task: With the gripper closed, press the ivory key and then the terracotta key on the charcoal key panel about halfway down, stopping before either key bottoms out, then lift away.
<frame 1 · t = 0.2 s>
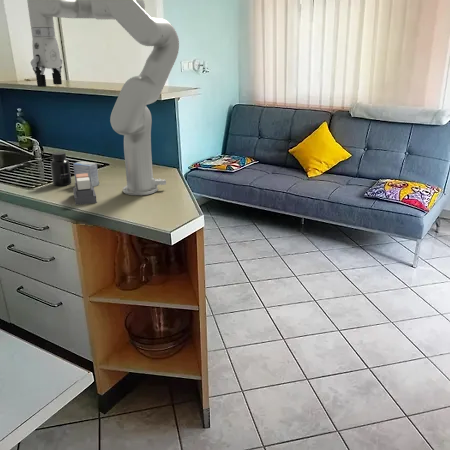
hand: (50, 85, 168), 37 cm above the countertop, tool pointing down, fingers open, 9 cm apart
medicine box: (87, 185, 181), on the countertop
key panel: (84, 198, 166), on the countertop
ivory key: (83, 183, 161), point 6 cm above the countertop, slide at 0.0 cm
terracotta key: (82, 179, 166), point 6 cm above the countertop, slide at 0.0 cm
supplement bottle: (62, 184, 183), on the countertop
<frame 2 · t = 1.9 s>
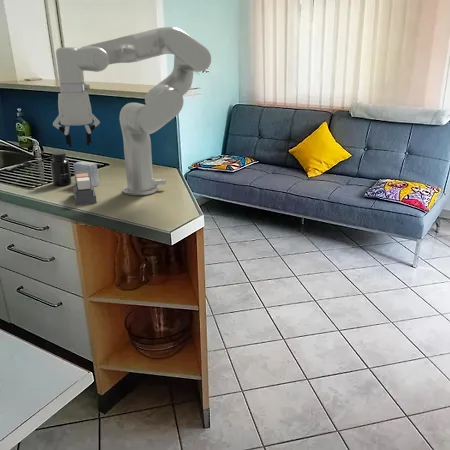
hand: (79, 145, 156), 19 cm above the countertop, tool pointing down, fingers open, 5 cm apart
nothing on the countertop moved.
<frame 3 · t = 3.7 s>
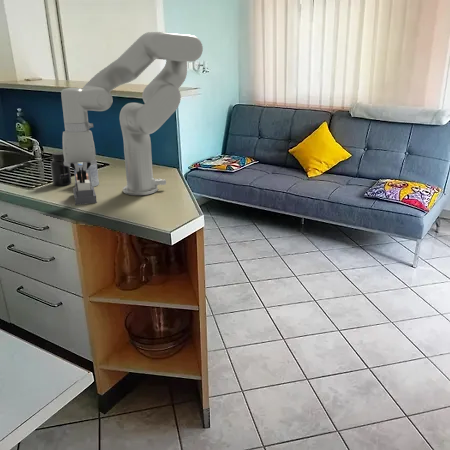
hand: (82, 181, 160), 7 cm above the countertop, tool pointing down, fingers closed
ivory key: (83, 185, 161), point 5 cm above the countertop, slide at 0.9 cm, touching gripper
everything else where it was.
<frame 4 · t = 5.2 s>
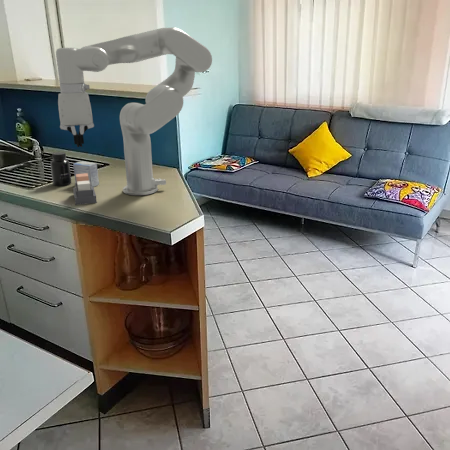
hand: (79, 146, 157), 19 cm above the countertop, tool pointing down, fingers closed
ivory key: (83, 186, 161), point 5 cm above the countertop, slide at 1.2 cm
everything else where it was.
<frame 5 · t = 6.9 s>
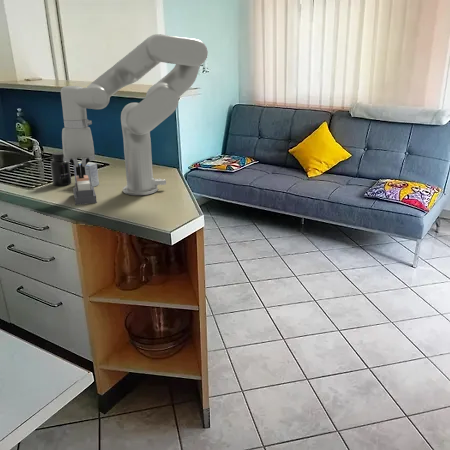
hand: (81, 177, 165), 7 cm above the countertop, tool pointing down, fingers closed
terracotta key: (82, 181, 166), point 6 cm above the countertop, slide at 0.7 cm, touching gripper
everything else where it was.
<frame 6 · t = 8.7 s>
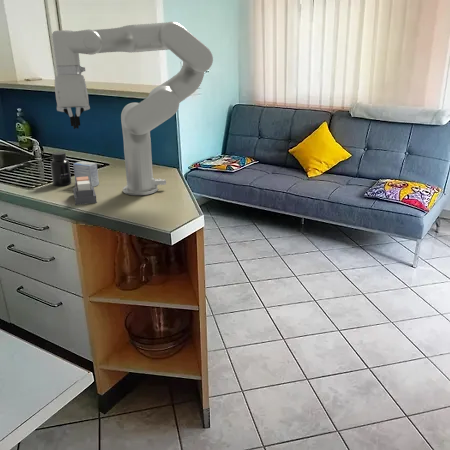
hand: (76, 127, 160), 24 cm above the countertop, tool pointing down, fingers closed
terracotta key: (82, 182, 166), point 5 cm above the countertop, slide at 1.2 cm
everything else where it was.
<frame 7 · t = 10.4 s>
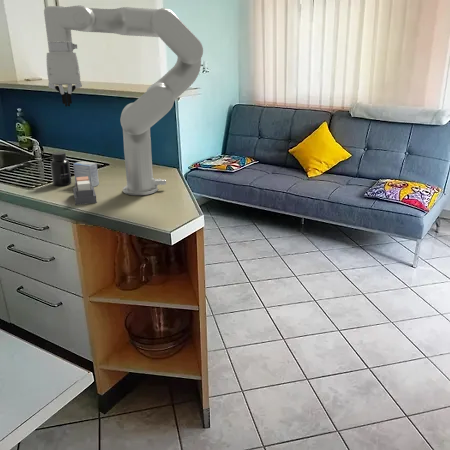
hand: (67, 105, 160), 31 cm above the countertop, tool pointing down, fingers closed
nothing on the countertop moved.
at the end: ivory key slide at 1.2 cm; terracotta key slide at 1.2 cm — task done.
